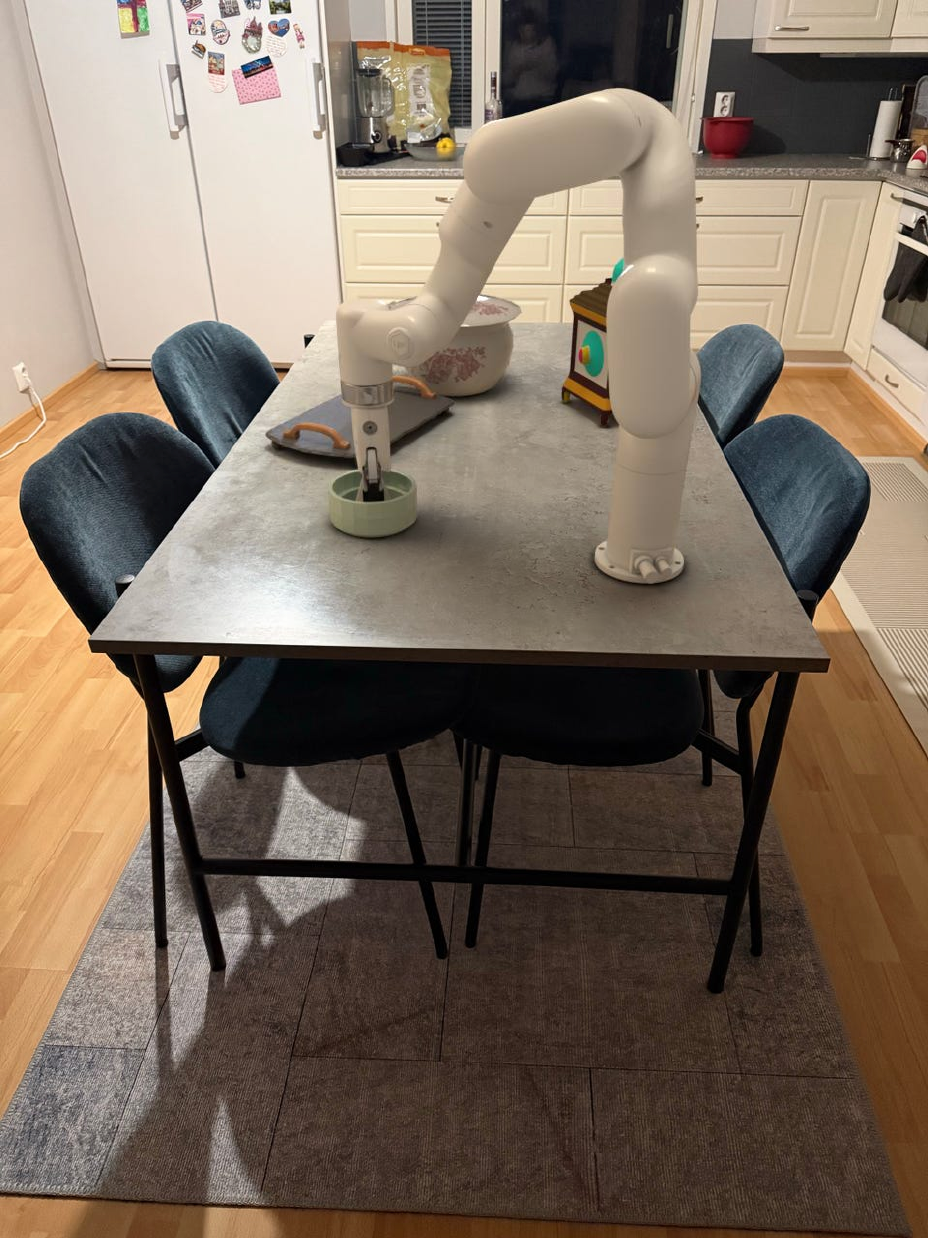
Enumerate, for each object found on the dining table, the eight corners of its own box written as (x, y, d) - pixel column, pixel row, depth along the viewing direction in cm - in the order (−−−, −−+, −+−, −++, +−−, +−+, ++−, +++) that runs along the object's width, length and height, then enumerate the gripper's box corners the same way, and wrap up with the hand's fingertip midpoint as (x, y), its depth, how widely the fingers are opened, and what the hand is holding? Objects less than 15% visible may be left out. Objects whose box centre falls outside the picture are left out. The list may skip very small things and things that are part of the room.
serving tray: (369, 392, 193) (367, 363, 190) (464, 410, 184) (465, 380, 181) (253, 452, 164) (249, 420, 161) (360, 477, 155) (358, 443, 152)
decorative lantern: (551, 400, 190) (560, 247, 174) (632, 388, 196) (648, 241, 180) (600, 431, 174) (615, 267, 158) (686, 418, 181) (708, 259, 165)
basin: (420, 537, 136) (419, 501, 133) (331, 542, 135) (328, 506, 131) (413, 500, 147) (412, 465, 144) (330, 504, 146) (327, 469, 143)
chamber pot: (541, 397, 191) (546, 296, 180) (420, 415, 181) (418, 309, 170) (484, 362, 212) (486, 269, 201) (374, 376, 203) (369, 279, 192)
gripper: (397, 409, 123) (401, 529, 133) (389, 371, 137) (394, 482, 147) (342, 411, 122) (350, 532, 132) (340, 373, 137) (347, 485, 146)
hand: (373, 504), depth 140 cm, fingers closed on flask, 4 cm apart
